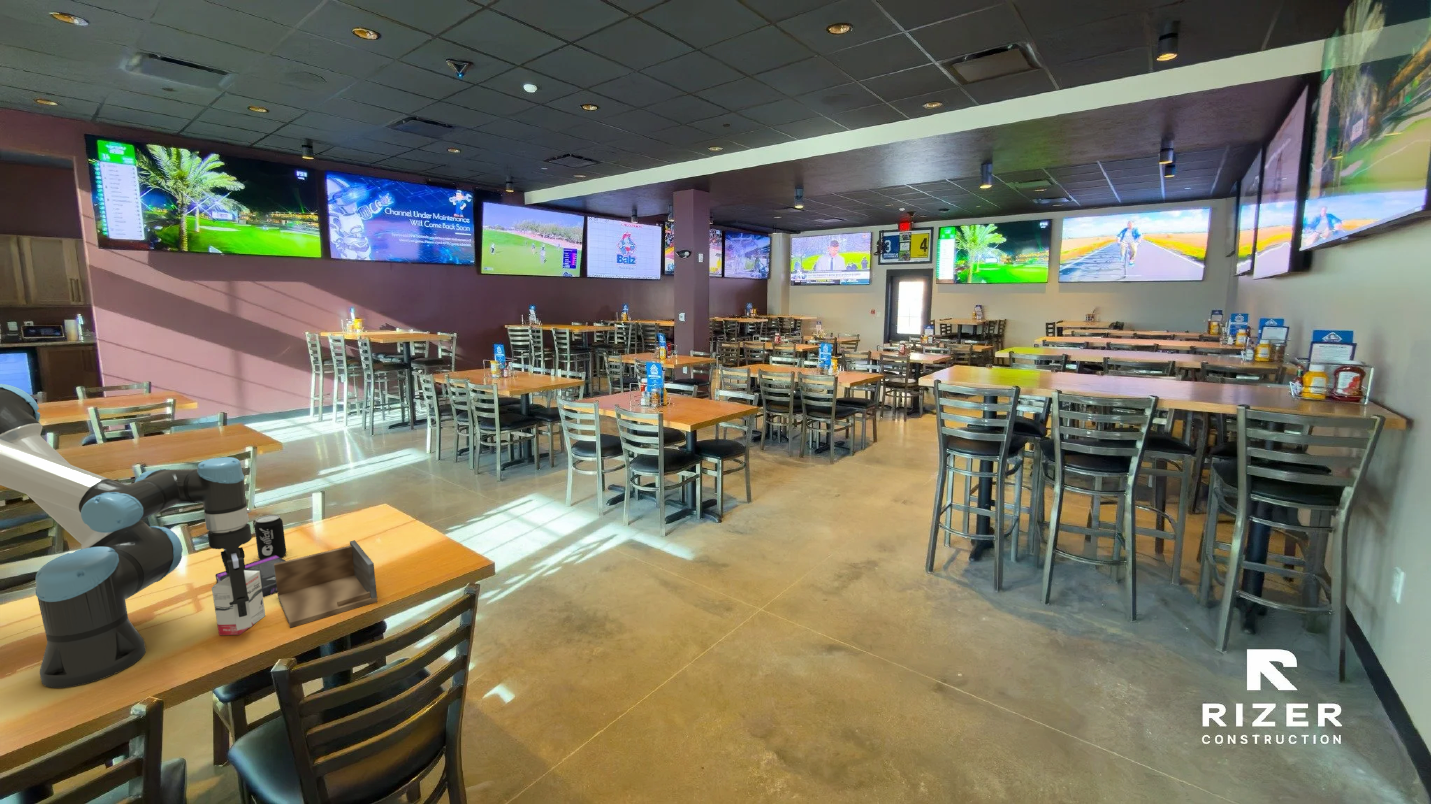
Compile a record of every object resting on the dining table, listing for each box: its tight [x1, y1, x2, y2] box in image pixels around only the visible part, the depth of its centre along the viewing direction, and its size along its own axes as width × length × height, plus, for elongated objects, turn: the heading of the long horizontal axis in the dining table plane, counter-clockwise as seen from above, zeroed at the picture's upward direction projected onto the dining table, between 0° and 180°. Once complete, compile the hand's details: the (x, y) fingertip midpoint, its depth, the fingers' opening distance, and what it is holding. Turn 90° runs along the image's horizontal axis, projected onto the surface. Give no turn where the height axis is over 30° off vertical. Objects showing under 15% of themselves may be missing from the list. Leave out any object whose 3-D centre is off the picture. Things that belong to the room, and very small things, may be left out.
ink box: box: [211, 570, 266, 636], centre depth 139 cm, size 8×5×12 cm, turn 2°
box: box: [215, 555, 287, 598], centre depth 161 cm, size 14×4×20 cm
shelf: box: [274, 540, 378, 628], centre depth 152 cm, size 18×19×10 cm
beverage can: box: [253, 514, 287, 560], centre depth 175 cm, size 7×7×12 cm
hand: (241, 619), depth 140 cm, fingers closed on ink box, 9 cm apart
